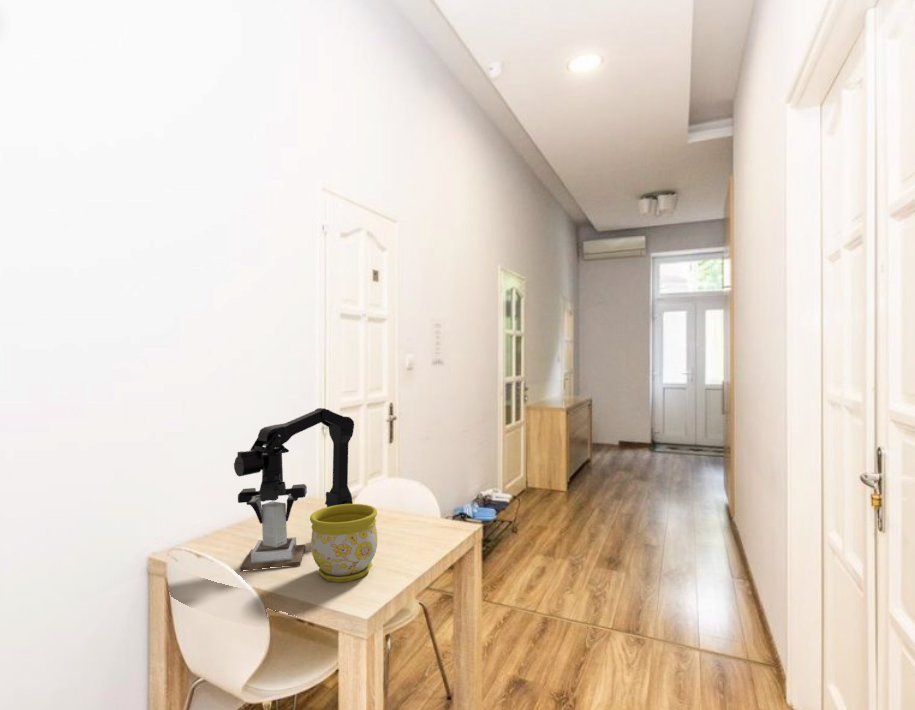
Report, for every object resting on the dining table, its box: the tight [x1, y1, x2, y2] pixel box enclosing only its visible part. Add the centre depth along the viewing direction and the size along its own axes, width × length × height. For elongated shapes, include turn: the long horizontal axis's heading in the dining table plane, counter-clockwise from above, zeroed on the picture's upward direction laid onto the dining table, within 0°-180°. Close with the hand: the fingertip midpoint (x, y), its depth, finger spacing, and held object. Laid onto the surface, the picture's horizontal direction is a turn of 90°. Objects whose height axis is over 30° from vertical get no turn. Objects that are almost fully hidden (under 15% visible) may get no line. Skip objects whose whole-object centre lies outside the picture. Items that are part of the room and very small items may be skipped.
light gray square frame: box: [251, 536, 297, 564], centre depth 151 cm, size 11×11×3 cm
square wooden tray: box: [240, 543, 306, 572], centre depth 151 cm, size 16×14×1 cm
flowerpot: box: [309, 503, 378, 583], centre depth 140 cm, size 18×18×16 cm
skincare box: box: [261, 500, 288, 548], centre depth 151 cm, size 6×4×12 cm
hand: (274, 522), depth 151 cm, fingers closed on skincare box, 7 cm apart
